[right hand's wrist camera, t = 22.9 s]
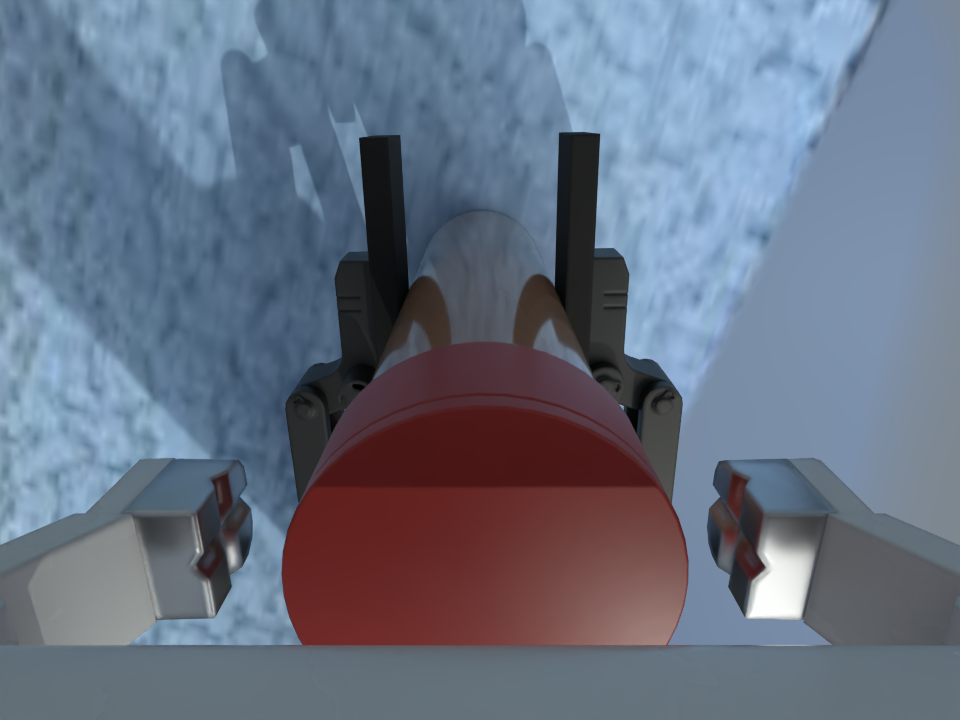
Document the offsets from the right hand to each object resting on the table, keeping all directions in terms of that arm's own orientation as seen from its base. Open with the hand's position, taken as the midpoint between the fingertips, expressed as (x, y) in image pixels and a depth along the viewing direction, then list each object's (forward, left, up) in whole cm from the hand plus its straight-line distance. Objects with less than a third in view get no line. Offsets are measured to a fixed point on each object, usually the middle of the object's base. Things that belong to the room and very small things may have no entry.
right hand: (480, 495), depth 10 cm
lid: (0, 0, +2) cm, 2 cm away
